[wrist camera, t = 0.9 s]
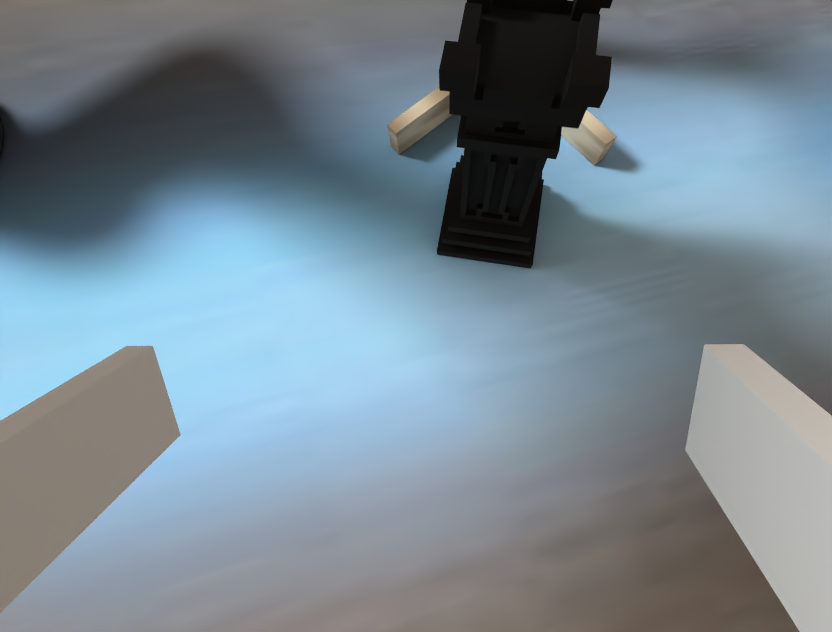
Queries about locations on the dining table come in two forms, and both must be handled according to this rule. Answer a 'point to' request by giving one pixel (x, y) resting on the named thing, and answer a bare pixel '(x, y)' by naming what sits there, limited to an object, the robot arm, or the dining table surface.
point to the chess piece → (514, 116)
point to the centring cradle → (435, 110)
